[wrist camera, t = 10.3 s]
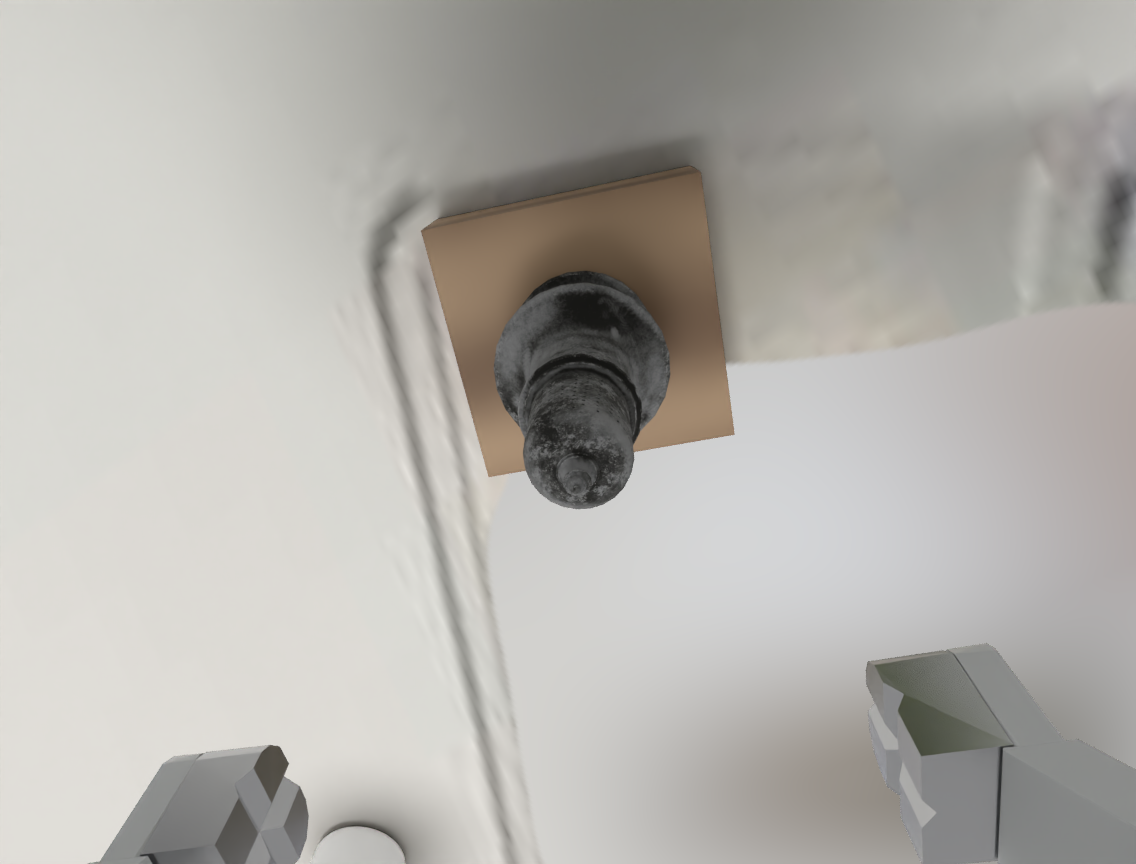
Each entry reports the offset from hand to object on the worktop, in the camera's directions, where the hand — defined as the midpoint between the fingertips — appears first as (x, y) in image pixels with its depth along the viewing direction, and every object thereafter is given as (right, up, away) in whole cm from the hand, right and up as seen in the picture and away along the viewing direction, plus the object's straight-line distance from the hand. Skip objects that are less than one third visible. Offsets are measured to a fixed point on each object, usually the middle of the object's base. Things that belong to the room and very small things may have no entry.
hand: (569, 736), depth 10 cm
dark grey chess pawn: (+1, +8, +18) cm, 20 cm away
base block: (+1, +9, +21) cm, 22 cm away
